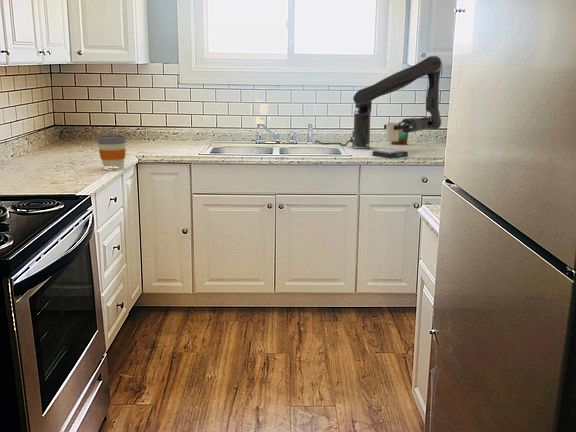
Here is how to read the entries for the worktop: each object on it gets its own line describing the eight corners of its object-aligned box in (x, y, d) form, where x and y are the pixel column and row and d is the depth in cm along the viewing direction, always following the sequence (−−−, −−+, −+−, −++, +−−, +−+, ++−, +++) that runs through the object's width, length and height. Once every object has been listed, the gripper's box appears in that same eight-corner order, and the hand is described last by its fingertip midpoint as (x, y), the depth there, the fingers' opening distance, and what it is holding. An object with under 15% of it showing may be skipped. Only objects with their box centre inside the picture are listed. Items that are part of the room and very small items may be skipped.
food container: (386, 144, 370) (386, 127, 368) (389, 143, 376) (390, 126, 373) (406, 145, 365) (406, 128, 363) (409, 144, 370) (410, 127, 368)
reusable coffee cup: (104, 166, 295) (102, 135, 291) (130, 166, 294) (128, 135, 291) (95, 171, 283) (93, 138, 279) (123, 171, 282) (120, 138, 278)
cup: (383, 140, 324) (383, 123, 322) (391, 139, 328) (392, 122, 326) (392, 141, 319) (392, 124, 317) (400, 140, 323) (401, 123, 321)
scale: (372, 155, 326) (372, 149, 325) (389, 153, 334) (389, 147, 333) (390, 158, 316) (391, 152, 315) (408, 156, 323) (408, 150, 323)
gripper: (401, 117, 335) (379, 119, 325) (421, 118, 324) (399, 121, 314) (400, 131, 337) (379, 133, 327) (421, 133, 326) (399, 135, 316)
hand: (389, 127), depth 320 cm, fingers closed on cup, 6 cm apart
